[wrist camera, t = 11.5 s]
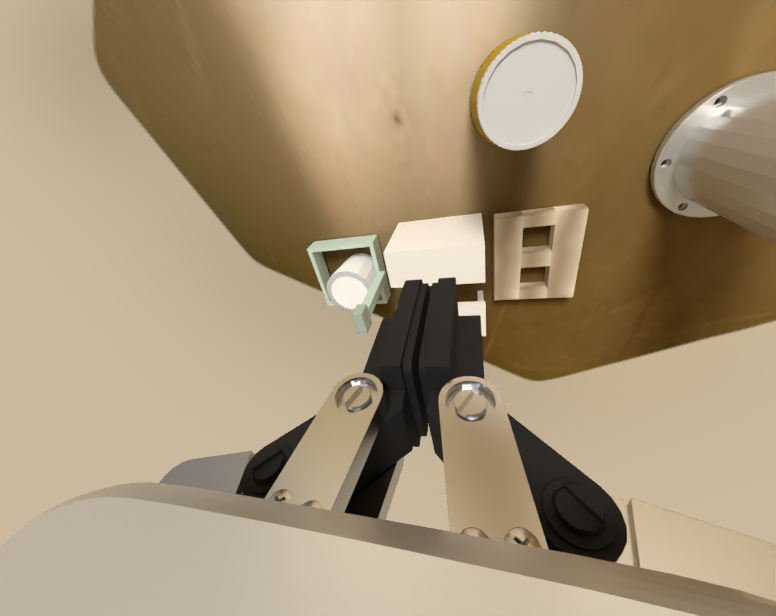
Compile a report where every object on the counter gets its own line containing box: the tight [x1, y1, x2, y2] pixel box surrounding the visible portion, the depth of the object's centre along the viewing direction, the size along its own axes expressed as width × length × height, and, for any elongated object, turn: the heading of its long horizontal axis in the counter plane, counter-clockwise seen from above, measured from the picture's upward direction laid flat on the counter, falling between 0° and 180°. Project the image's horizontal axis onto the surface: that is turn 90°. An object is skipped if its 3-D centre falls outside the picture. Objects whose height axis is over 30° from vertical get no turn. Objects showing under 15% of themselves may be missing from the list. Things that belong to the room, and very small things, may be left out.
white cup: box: [327, 253, 376, 312], centre depth 44 cm, size 7×7×7 cm
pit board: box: [493, 203, 589, 300], centre depth 39 cm, size 10×12×2 cm
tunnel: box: [383, 213, 486, 336], centre depth 39 cm, size 11×13×10 cm
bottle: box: [469, 31, 583, 151], centre depth 25 cm, size 7×7×15 cm
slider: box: [307, 235, 391, 333], centre depth 41 cm, size 11×10×14 cm
